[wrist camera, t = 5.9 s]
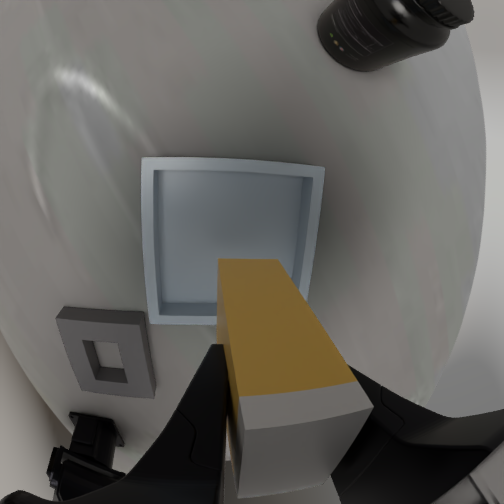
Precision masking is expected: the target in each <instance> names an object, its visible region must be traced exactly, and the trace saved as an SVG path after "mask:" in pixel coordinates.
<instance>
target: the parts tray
mask: <svg viewBox="0 0 504 504" xmlns="http://www.w3.org/2000/svg"><path fill="white" fill-rule="evenodd" d="M324 175H325V167H320V166H313V165H304V164H295V163H285V162H275V161H262V160H248V159H231V158H206V157H145V158H142V167H141V220H142V245H143V261H144V274H145V286H146V296H147V305H148V313H149V321H150V324H171V325H217V276H218V258H226V259H278V260H279V262H280V263H281V265H282V266H283V268H284V269H285V271H286V272H287V274H288V275H289V277H290V278H291V280H292V281H293V283H294V284H295V286H296V287H297V289H298V290H299V292H300V293H301V295H302V296H303V298H304V299H305V301H306V302H307V297H308V292H309V286H310V280H311V274H312V267H313V261H314V254H315V247H316V240H317V233H318V226H319V218H320V210H321V202H322V193H323V184H324Z"/></svg>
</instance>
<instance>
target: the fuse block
mask: <svg viewBox="0 0 504 504" xmlns="http://www.w3.org/2000/svg"><path fill="white" fill-rule="evenodd" d="M55 319H56V322H57V325H58V329H59V332H60V335H61V338H62V341H63V344H64V347H65V350H66V352H67V355H68V358H69V361H70V363H71V366H72V368H73V371H74V373H75V376H76V378H77V381H78V383H79V385H80V388H81V390H82V391H88V392H95V393H102V394H109V395H118V396H127V397H138V398H151V399H154V397H155V389H156V382H155V377H154V372H153V367H152V362H151V356H150V351H149V345H148V339H147V332H146V326H145V319H144V312H134V311H115V310H99V309H85V308H73V307H63V309H62V310H61V311H60V313H59V314H58V315H57V317H56V318H55ZM93 341H100V342H111V343H118V347H119V351H120V355H121V359H122V363H123V366H124V369H116V368H107V367H100V364H99V361H98V358H97V355H96V352H95V348H94V345H93Z"/></svg>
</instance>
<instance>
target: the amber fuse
mask: <svg viewBox="0 0 504 504" xmlns="http://www.w3.org/2000/svg"><path fill="white" fill-rule="evenodd" d="M217 344H223V346H224V352H225V358H226V363H227V369H228V395H227V434H228V441H229V448H230V455H231V462H232V468H233V474H234V480H235V487H236V492H237V498H247V497H257V496H265V495H272V494H279V493H285V492H290V491H296V490H301V489H305V488H310V487H314V486H318V485H322V484H324V483H325V481H326V480H327V478H328V477H329V476H330V475H331V473H332V472H333V471H334V469H335V468H336V466H337V465H338V464H339V462H340V461H341V459H342V458H343V456H344V455H345V453H346V452H347V451H348V449H349V447H350V446H351V444H352V443H353V441H354V440H355V438H356V437H357V435H358V433H359V432H360V430H361V428H362V427H363V425H364V423H365V422H366V420H367V418H368V416H369V415H370V413H371V411H372V409H373V408H374V406H373V405H372V403H371V401H370V400H369V398H368V397H367V395H366V393H365V392H364V390H363V389H362V387H361V386H360V384H359V382H358V381H357V379H356V378H355V376H354V375H353V373H352V371H351V370H350V368H349V367H348V365H347V364H346V362H345V360H344V359H343V357H342V356H341V354H340V353H339V351H338V350H337V348H336V347H335V345H334V343H333V342H332V340H331V339H330V337H329V336H328V334H327V333H326V331H325V330H324V328H323V327H322V325H321V323H320V322H319V320H318V319H317V317H316V316H315V314H314V313H313V311H312V310H311V308H310V307H309V305H308V304H307V302H306V301H305V299H304V298H303V296H302V295H301V293H300V292H299V290H298V289H297V287H296V286H295V284H294V283H293V281H292V280H291V278H290V277H289V275H288V274H287V272H286V271H285V269H284V268H283V266H282V265H281V263H280V262H279V260H278V259H226V258H218V276H217Z"/></svg>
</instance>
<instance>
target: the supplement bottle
mask: <svg viewBox="0 0 504 504" xmlns="http://www.w3.org/2000/svg"><path fill="white" fill-rule="evenodd" d="M473 17H474V10H473V5H472V2H471V0H334V1H333V2H332V3H331V4H330V5H329V6H328V7H327V8H326V10H325V11H324V12H323V13H322V15H321V16H320V18H319V22H318V32H319V36H320V39H321V41H322V43H323V45H324V46H325V48H326V49H327V51H328V52H329V53H330V54H331V55H332V56H333V57H334V58H335V59H336V60H338V61H339V62H340V63H342V64H344V65H345V66H347V67H350V68H352V69H355V70H359V71H373V70H377V69H380V68H383V67H385V66H388V65H391V64H393V63H396V62H399V61H402V60H404V59H407V58H410V57H413V56H416V55H419V54H423V53H426V52H429V51H432V50H435V49H438V48H440V47H442V46H443V45H444V44H445V43H446V41H447V40H448V38H449V35H450V30H452V29H456V28H458V27H459V26H460V25H463V24H467V23H470V22H471V21H472V20H473Z"/></svg>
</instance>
